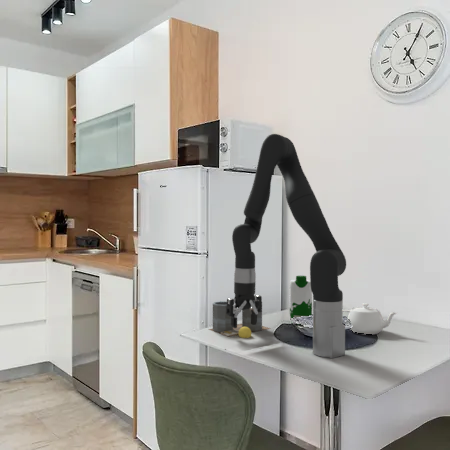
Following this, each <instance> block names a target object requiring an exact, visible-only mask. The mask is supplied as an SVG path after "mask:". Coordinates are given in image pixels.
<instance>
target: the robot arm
mask: <svg viewBox="0 0 450 450" xmlns="http://www.w3.org/2000/svg"><path fill="white" fill-rule="evenodd" d="M259 151H260V152H259V155H258V162H257V166H256V171H255V175H254V179H253V183H252V186H251V190H250V192H249V196H248V198H247V201H246V203H245V206H244V208H243V209H244V210H243V216H245V219H244V222H243V224H241V223H240V224H238V225H237V226H235V227H234V228H233V231H232V237H231V238H232V245H233V251H234V254H235V256H234V257H235V262H234V275H233V276H234V278H233V280H234V281H233V293H234V298H230V297H227V299H226V302H227V307H226V315H228V316H231V326H232V327H233V328H237V324H238V316H239V314H240V313H242V310H245V309H250V311H251V313H252V314H251V324H252V325H256V323H257V314H258V313H259V312H262V313H263V301H262V299H263V297H262V295H259V294H256V282H257V281H256V278H257V277H256V276H257V275H256V255H255V252H254V251H252V246H251V245H252V244H254V243H255V242H256V241H257V240H258V238H259V236H260V232H261V229H262V223H263V217H264V214H265V212H266V211H267V207H268V204H269V201H270V197H271V187H272V185H271V184H272V179H273V174H274V171H275V169H276V166H277V168H278V169H279V171H280V173H281V175H282V178H283V181H284V186H285V188H284V190H285V200H286V203H287V205H288V208H289V210H290V212H291V215H292V216H293V219H294V221H295V222H296V224H298V226H299V227H300V228H301V229H302V230H303V231H304V233H306V235H307V236H308V238H309V239H310V241H311V242H312V244H313V246H314V249H315V251H316V252H314V254H312V256H311V257H310V258H311V259H310V263H309V277H310V278H309V280H310V283H311V291H312V354H314V356H319V357H323V358H331V359H334V358H338V357H341V356H345V355H346V325H345V324H343V323H344V322H343V318H344V317H343V315H344V314H343V313H344V312H343V310H344V309H343V307H344V305H343V300H344V299H343V298H344V297H343V295H344V294H343V291H342V290H341V289H340V287H339V277H340V276H342V275H343V274H344V273H345V271H346V268H347V259H346V256H345V254H344V253H343V250H342V249H341V248H340V246H339V244H338V242H337V241H336V239H335V237H334V235H333V234H332V231H331V229H330V226H329V225H328V223H327V222H328V221H327V220H326V217H325V216H324V214H323V213H324V212H323V211H322V209H321V206H320V204H319V201H318V199H317V197H316V195H315V192H314V191H313V189H312V186H311V185H310V182H309V180H308V178H307V176H306V175H305V172H304V171H303V167H302V165H301V162H300V159H299V156H298V153H297V152H298V151H297V150H296V147H295V145H294V143H293V141H292V140H291V139H290V138H289V137H285V136H283V135H282V134H281V135H280V134H278V133H272V134H268V135H267V136H266V137H265V138H264V139H263V141H262V143H261V147H260V150H259ZM254 301H255V305H254V303H253V302H254ZM258 306H259V308H258Z"/></svg>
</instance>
